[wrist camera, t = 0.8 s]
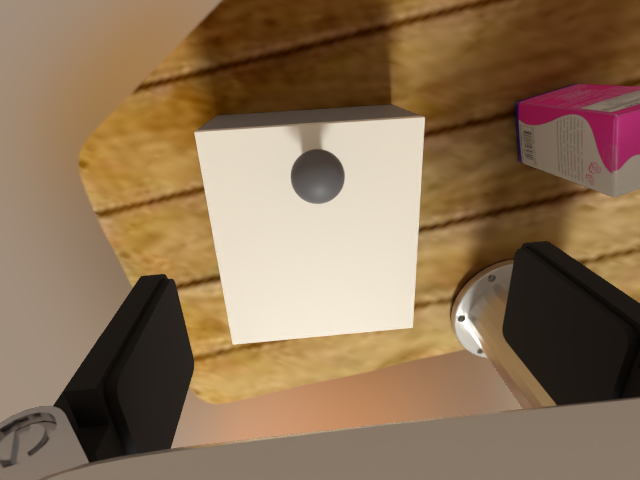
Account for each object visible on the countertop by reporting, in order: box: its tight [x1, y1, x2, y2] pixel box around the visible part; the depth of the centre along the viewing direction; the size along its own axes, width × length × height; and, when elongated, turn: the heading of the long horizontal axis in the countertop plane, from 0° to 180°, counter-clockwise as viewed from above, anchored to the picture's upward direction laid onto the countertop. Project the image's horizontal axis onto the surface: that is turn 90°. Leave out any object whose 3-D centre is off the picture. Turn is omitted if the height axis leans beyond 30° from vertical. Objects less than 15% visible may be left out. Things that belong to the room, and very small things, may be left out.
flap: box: [194, 116, 425, 344], centre depth 27 cm, size 15×17×6 cm
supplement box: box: [515, 84, 640, 197], centre depth 30 cm, size 6×6×12 cm
